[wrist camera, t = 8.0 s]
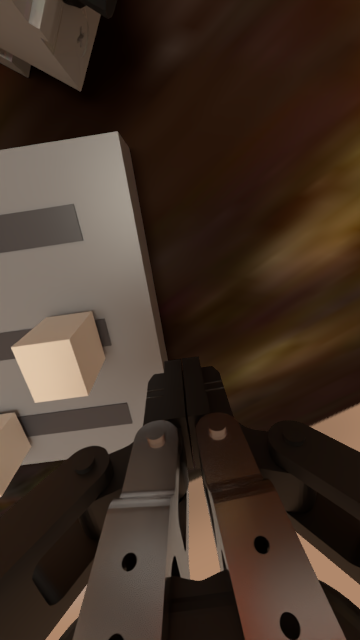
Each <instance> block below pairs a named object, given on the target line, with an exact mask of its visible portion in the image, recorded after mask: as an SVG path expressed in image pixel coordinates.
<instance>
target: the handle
mask: <svg viewBox="0 0 360 640" xmlns="http://www.w3.org/2000/svg"><path fill="white" fill-rule="evenodd" d="M30 448H31V445H30V443H29V441H28V439H27V437H26V435H25V433H24V431H23V429H22V426H21V424H20V422H19V420H18V418H17V416H16V414H15V412H14V413H6V414H0V497H1V496H2V495H3V493H4V491H5V490H6V488H7V486H8V485H9V483H10V481H11V480H12V478H13V476H14V475H15V473H16V471H17V470H18V468H19V466H20V465H21V463H22V461H23V460H24V458H25V456H26V455H27V453H28V451H29V450H30Z"/></svg>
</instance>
